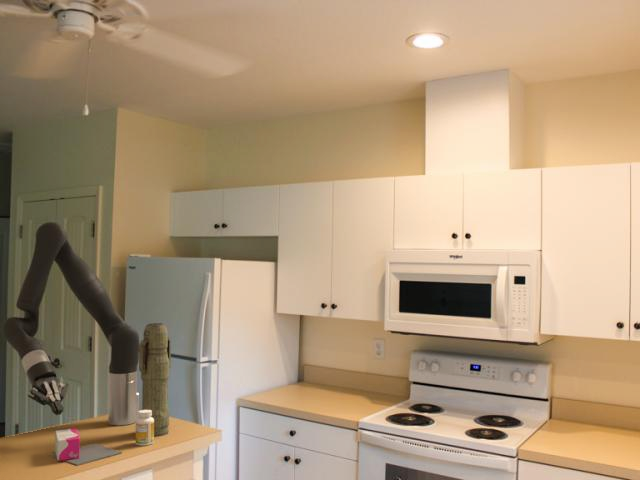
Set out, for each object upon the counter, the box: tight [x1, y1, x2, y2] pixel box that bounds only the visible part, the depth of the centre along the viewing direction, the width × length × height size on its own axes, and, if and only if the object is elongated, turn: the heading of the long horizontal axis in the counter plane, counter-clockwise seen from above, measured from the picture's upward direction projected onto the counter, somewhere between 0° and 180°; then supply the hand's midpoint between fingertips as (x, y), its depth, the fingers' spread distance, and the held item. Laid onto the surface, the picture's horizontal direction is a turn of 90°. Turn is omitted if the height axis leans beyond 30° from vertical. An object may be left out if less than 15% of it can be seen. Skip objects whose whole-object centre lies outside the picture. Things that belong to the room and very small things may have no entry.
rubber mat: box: [49, 443, 123, 466], centre depth 177 cm, size 14×14×1 cm
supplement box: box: [54, 428, 81, 461], centre depth 177 cm, size 6×6×12 cm
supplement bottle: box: [135, 409, 155, 447], centre depth 189 cm, size 5×5×10 cm
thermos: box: [138, 322, 172, 438], centre depth 200 cm, size 9×12×35 cm
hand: (59, 413), depth 187 cm, fingers closed
